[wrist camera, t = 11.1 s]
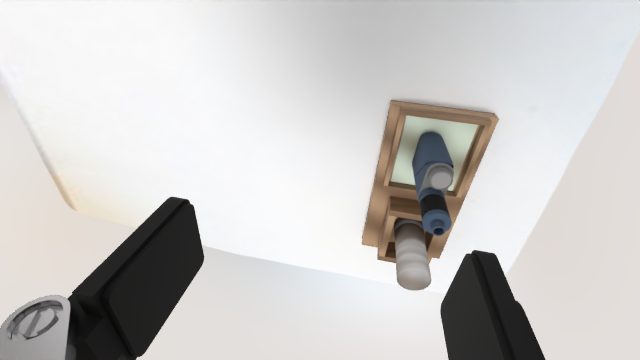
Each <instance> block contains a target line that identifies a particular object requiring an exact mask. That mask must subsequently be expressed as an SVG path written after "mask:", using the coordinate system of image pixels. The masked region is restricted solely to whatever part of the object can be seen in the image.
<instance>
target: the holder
mask: <svg viewBox="0 0 640 360" xmlns="http://www.w3.org/2000/svg"><path fill="white" fill-rule="evenodd" d="M498 120H499V118H498V117H497V116H496V115H495V114H492V113H484V112H477V111H469V110H461V109H453V108H445V107H437V106H430V105H422V104H414V103H406V102H398V101H391V103H390V108H389V113H388V118H387V123H386V127H385V132H384V137H383V142H382V146H381V151H380V156H379V161H378V166H377V170H376V175H375V180H374V185H373V190H372V194H371V199H370V204H369V209H368V213H367V218H366V223H365V228H364V233H363V237H362V245H367V246H373V247H378V260H383V261H388V262H393V263H396V270H397V282H398V283H399V285H400V286H402V287H403V288H405V289H408V290H422V289H424V288H426V287H428V286H429V285H430V283H431V275H430V269H429V263H430V261H431V258H432V257H433V258H440V255H441V253H442V251H443V248H444V246H445V244H446V241H447V239H448V237H449V234H450V232H451V230H452V227H453V225H454V223H455V220H456V218H457V216H458V213H459V211H460V209H461V206H462V204H463V202H464V199H465V197H466V195H467V192H468V190H469V188H470V185H471V183H472V181H473V178H474V176H475V174H476V171H477V169H478V166H479V164H480V162H481V159H482V157H483V155H484V152H485V150H486V148H487V145H488V143H489V141H490V138H491V136H492V134H493V131H494V129H495V127H496V124H497V122H498ZM427 132H434V133H437V134H439V135H441V136H442V138H443V139H444V142H445V144H446V147H447V149H448V152H449V155H450V157H451V160H452V162H453V165H454V168H453V170H454V176H453V183H452V185H451V186H450V187H449V188H448V190H447V193H446V195H445V201H446V204H447V207H448V211H449V214H450V218H451V221H452V225H451V227H450V229H449V230H448V231H446V232H445V234H444V235H442V236H435V235H434V234H431V233H429V232H427V231H426V230H425V229H424V228H423V224H422V218H421V212H420V210H421V208H420V206H419V202H418V200H417V192H416V186H415V179H414V173H413V167H412V161H413V158H414V154H415V151H416V148H417V145H418V141H419V138H420V136H421V135H422V134H424V133H427Z"/></svg>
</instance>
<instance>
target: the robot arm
mask: <svg viewBox="0 0 640 360" xmlns="http://www.w3.org/2000/svg"><path fill="white" fill-rule="evenodd" d="M203 261H204V254H203V249H202V244H201V239H200V234H199V230H198V225H197V220H196V215H195V210H194V206H193V205H192V204H190V202H189V200H187V199H182V198H176V197H170V198H168V199H167V200H166V201H165V202H164V203H163V204H162V205H161V206H160V207H159V208H158V209H157V210H156V211H155V212H154V213H153V214H152V215H151V216H150V217H149V218H148V219H147V220H146V221H145V222H144V223H142V224H141V225H140V226H139V227H138V228H137V229H136V230H135V231H134V232H133V233H132V234H131V235H130V236H129V237H128V238H127V239H126V240H125V241H124V242H123V243H122V244H121V245H120V246H119V247H118V248H117V249H116V250H115V251H114V252H113V253H112V254H111V255H110V256H109V257H108V258H107V259H106V260H105V261H104V262H103V263H102V264H101V265H100V266H98V267H97V268H96V269H95V270H94V271H93V272H92V273H91V274H90V276H88V277H87V278H86V279H85V280H84V281H83V282H82V283H81V284H80V285H79V286H78V287H77V288H76V289H75V290H74V291H73V292H72V293H73V294H72V295H71V296H70V297H69V298H68V299H67V298H65V297H62V296H60V295H50V296H45V297H41V298H38V299H36V300H33V301H31V302H29V303H27V304H25V305H24V306H22V307H20V308H19V309H17V310H16V311H15V312H13V313H12V314H11V315H10V316H9V317H8V318H7V319H6V320H5V322H4V323H3V324H2V326H1V328H0V360H136V358H137V357H140V356H142V355H143V354H144V353H145V352H146V350H147V349H148V347H149V346H150V344H151V343H152V341H153V340H154V338H155V336H156V335H157V334H158V332H159V330H160V329H161V327H162V326H163V324H164V323H165V321H166V320H167V318H168V317H169V315H170V314H171V312H172V310H173V309H174V308H175V306H176V304H177V303H178V301H179V300H180V298H181V297H182V295H183V294H184V292H185V291H186V289H187V287H188V286H189V284H190V283H191V281H192V280H193V278H194V277H195V275H196V274H197V272H198V271H199V269H200V268H201V266H202V264H203ZM441 318H442V324H443V330H444V335H445V341H446V347H447V352H448V358H449V360H545V358H544V355H543V353H542V351H541V348H540V346H539V344H538V341H537V339H536V337H535V335H534V332H533V330H532V328H531V325H530V323H529V321H528V318H527V316H526V314H525V312H524V310H523V308H522V306H521V305H520V303H518V301H515V299H514V296H513V294H512V292H511V289H510V287H509V285H508V282H507V280H506V277H505V275H504V273H503V270H502V268H501V266H500V263H499V261H498V258H497V257H496V255H495V254H494V253H488V252H483V251H477V250H474V251H473V252H472V253H471V254H466V255H465V257H464V259H463V261H462V263H461V265H460V267H459V269H458V271H457V273H456V275H455V277H454V279H453V281H452V283H451V285H450V287H449V289H448V291H447V293H446V296H445V298H444V300H443V302H442V304H441Z"/></svg>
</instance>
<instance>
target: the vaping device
mask: <svg viewBox="0 0 640 360" xmlns="http://www.w3.org/2000/svg"><path fill="white" fill-rule="evenodd" d="M412 167H413V173H414V179H415V186H416V192H417V200H418V202H419V206H420V208H421V210H420V212H421V218H422V224H423V228H424V229H425V230H426V231H427V232H429V233H431V234H434V235H435V236H442V235H444V234H445V232H446V231H448V230H449V229H450V227H451V225H452V221H451V218H450V214H449V211H448V207H447V204H446V201H445V195H446V193H447V190H448V188H449V187H450V186H451V185H452V183H453V176H454V170H453V168H454V165H453V162H452V160H451V157H450V155H449V152H448V149H447V147H446V144H445V142H444V139H443V138H442V136H441V135H439V134H437V133H434V132H427V133H424V134H422V135H421V136H420V138H419V141H418V145H417V148H416V151H415V154H414V158H413V161H412Z"/></svg>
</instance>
